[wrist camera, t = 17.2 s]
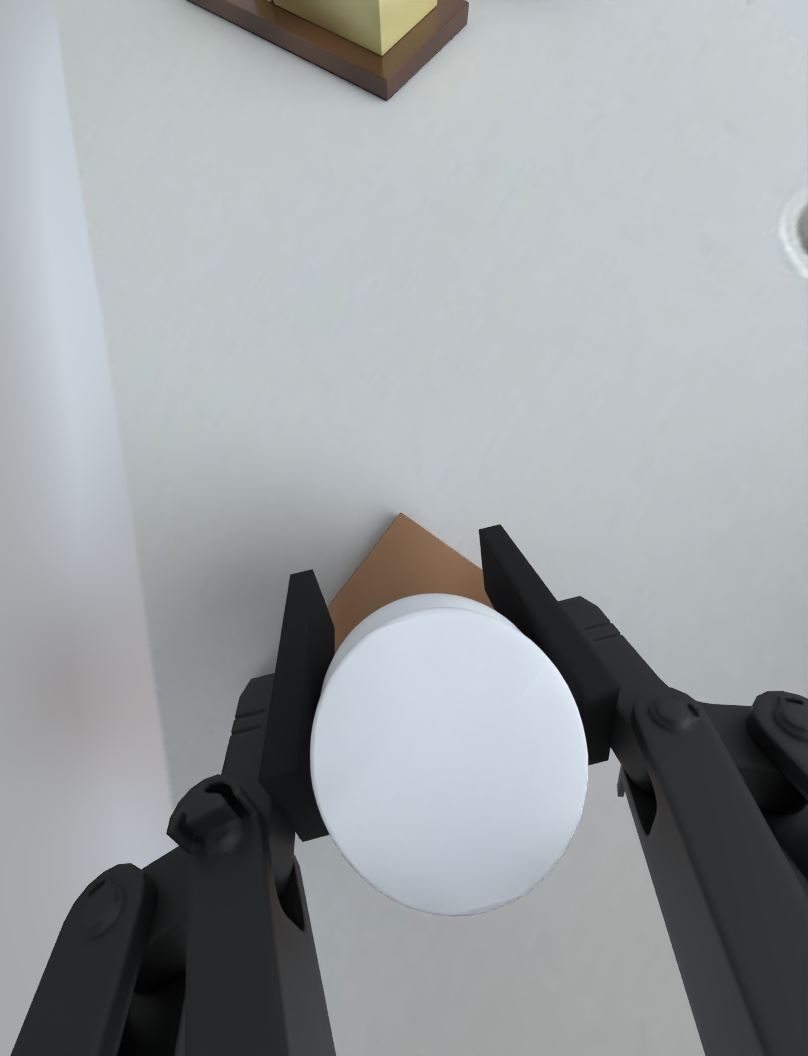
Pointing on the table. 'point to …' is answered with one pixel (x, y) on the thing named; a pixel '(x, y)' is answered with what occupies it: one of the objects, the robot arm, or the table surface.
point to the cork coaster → (404, 575)
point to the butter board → (343, 50)
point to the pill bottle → (447, 756)
